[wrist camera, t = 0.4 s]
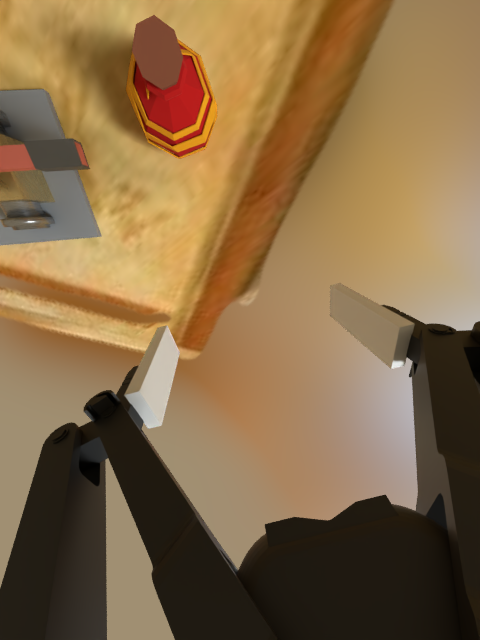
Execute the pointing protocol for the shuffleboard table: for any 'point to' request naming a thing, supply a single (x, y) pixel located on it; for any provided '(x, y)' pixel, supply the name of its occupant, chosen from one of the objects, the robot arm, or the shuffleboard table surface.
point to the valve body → (22, 192)
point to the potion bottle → (170, 90)
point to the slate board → (66, 187)
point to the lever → (43, 156)
